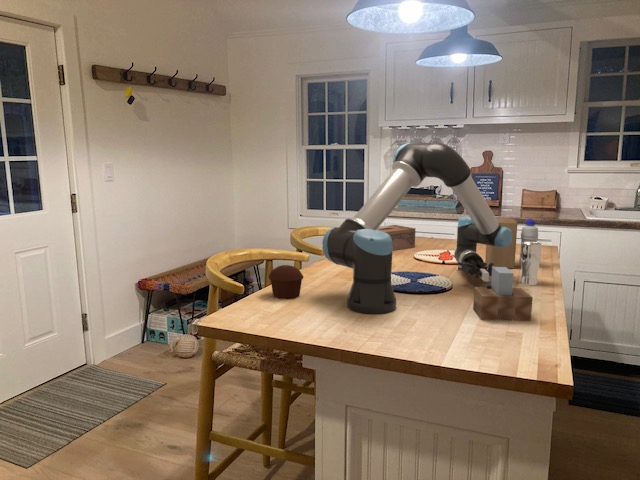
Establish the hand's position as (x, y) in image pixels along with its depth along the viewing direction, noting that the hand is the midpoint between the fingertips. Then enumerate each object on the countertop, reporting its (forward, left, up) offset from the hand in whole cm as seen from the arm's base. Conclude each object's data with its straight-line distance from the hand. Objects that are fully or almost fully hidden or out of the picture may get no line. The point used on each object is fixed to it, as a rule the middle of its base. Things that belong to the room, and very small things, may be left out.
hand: (486, 277), depth 172 cm
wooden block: (+17, +47, -7) cm, 50 cm away
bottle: (+28, +46, -7) cm, 54 cm away
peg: (0, -18, -6) cm, 19 cm away
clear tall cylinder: (+20, +19, -7) cm, 28 cm away
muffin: (-66, -4, -7) cm, 67 cm away
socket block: (0, -19, -7) cm, 20 cm away
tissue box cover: (-28, +83, -7) cm, 88 cm away
